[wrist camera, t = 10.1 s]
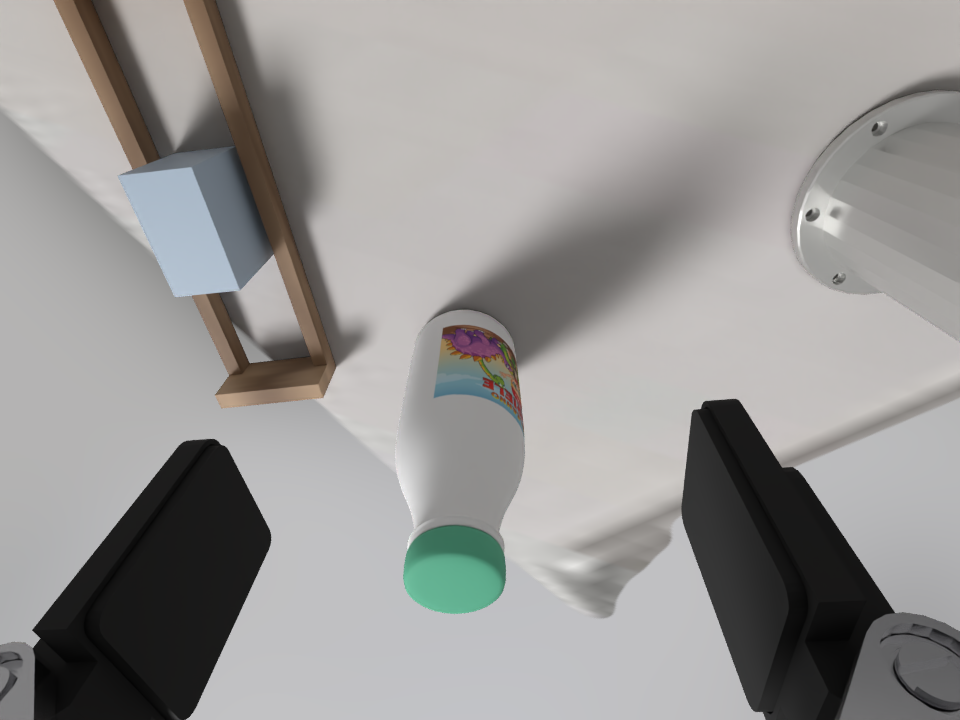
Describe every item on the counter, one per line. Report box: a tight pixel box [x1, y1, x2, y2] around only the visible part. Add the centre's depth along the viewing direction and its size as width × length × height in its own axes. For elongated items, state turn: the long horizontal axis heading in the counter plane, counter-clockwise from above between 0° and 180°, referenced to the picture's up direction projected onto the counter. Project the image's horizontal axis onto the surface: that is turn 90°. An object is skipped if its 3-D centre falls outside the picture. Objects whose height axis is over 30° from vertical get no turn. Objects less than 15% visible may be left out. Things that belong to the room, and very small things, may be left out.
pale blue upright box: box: [118, 146, 274, 297], centre depth 31 cm, size 4×7×6 cm, turn 6°
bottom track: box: [54, 0, 336, 408], centre depth 32 cm, size 8×26×4 cm, turn 7°
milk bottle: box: [395, 310, 525, 614], centre depth 31 cm, size 8×8×20 cm
